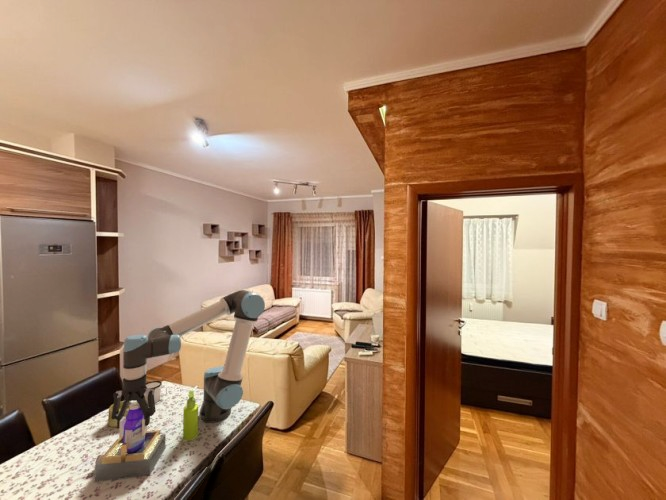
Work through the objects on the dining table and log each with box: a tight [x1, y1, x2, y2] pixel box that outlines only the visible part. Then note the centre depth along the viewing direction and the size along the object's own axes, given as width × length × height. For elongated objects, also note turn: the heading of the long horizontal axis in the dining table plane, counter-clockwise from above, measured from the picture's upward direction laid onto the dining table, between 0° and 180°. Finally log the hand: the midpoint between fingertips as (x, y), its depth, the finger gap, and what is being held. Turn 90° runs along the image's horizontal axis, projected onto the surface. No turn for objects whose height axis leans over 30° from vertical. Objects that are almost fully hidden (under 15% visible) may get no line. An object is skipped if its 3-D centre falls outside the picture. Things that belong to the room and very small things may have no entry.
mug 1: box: [107, 400, 133, 428], centre depth 133 cm, size 12×10×10 cm
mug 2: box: [144, 380, 168, 405], centre depth 153 cm, size 12×10×9 cm
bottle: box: [123, 401, 145, 453], centre depth 108 cm, size 7×6×17 cm
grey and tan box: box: [94, 429, 167, 483], centre depth 108 cm, size 21×15×12 cm
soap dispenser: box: [182, 390, 199, 442], centre depth 124 cm, size 6×7×20 cm
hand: (133, 434), depth 108 cm, fingers open, 7 cm apart
